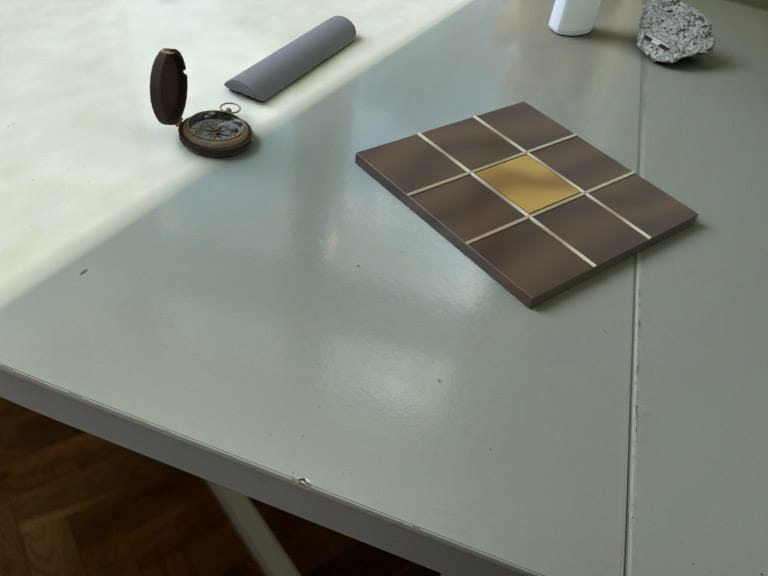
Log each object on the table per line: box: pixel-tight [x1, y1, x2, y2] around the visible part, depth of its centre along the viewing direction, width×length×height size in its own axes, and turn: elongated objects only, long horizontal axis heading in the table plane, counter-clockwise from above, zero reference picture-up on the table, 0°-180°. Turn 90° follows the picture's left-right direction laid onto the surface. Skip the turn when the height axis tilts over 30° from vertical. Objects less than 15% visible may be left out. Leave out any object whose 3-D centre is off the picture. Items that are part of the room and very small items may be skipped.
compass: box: [149, 47, 254, 158], centre depth 65 cm, size 8×8×7 cm
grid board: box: [354, 101, 700, 309], centre depth 67 cm, size 21×21×1 cm
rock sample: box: [636, 0, 717, 65], centre depth 93 cm, size 10×8×9 cm
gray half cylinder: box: [223, 15, 357, 102], centre depth 79 cm, size 4×20×2 cm, turn 153°
